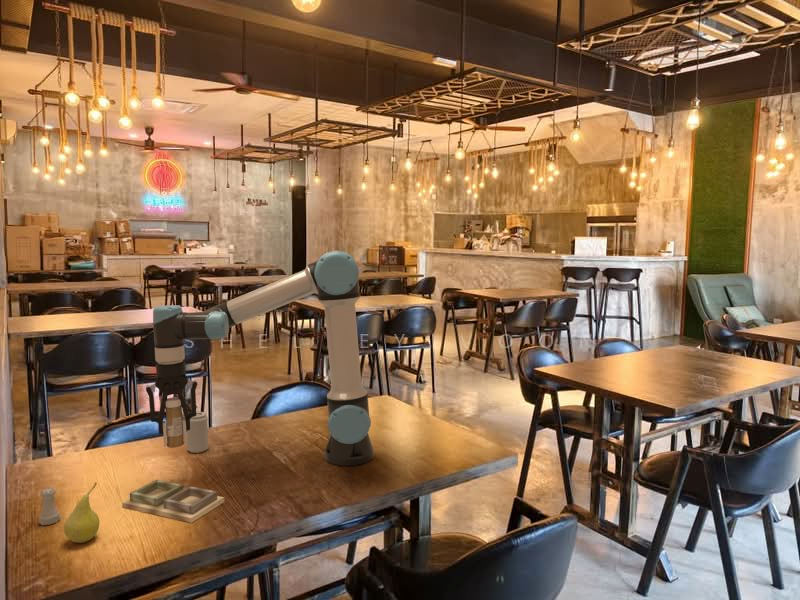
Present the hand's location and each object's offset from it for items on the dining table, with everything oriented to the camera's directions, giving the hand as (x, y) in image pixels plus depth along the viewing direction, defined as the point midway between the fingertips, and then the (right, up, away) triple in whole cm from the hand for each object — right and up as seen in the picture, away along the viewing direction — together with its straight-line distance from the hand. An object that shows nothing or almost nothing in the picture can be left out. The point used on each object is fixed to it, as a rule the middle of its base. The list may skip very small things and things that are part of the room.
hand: (175, 443), depth 158 cm
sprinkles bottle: (0, -1, 0) cm, 1 cm away
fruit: (-8, -14, -31) cm, 35 cm away
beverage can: (-2, -9, +24) cm, 26 cm away
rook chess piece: (-21, -13, -23) cm, 34 cm away
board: (+5, -12, -14) cm, 19 cm away
